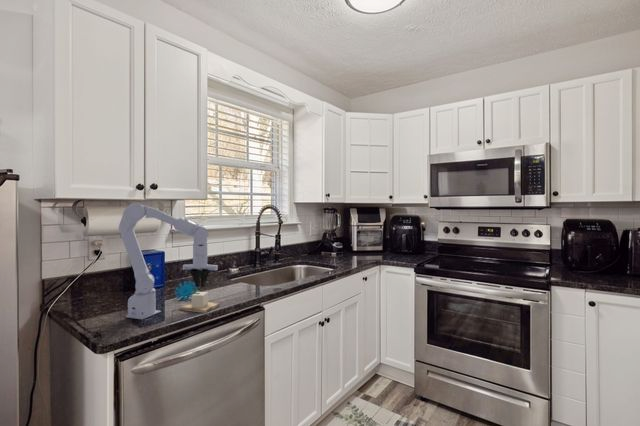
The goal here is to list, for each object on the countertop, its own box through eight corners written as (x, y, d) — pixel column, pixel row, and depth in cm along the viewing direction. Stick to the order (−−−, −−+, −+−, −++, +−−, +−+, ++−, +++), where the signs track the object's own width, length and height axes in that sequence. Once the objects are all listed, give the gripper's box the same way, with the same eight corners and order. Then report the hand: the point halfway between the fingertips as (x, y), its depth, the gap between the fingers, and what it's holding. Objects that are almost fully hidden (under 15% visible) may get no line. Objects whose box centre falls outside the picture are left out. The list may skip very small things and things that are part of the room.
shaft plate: (204, 312, 132) (204, 304, 132) (180, 309, 136) (180, 301, 135) (219, 305, 141) (219, 297, 141) (196, 303, 145) (196, 295, 145)
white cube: (208, 303, 141) (208, 291, 140) (203, 307, 136) (203, 295, 135) (197, 303, 141) (197, 291, 141) (191, 307, 136) (191, 294, 136)
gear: (170, 296, 149) (180, 278, 156) (174, 303, 153) (184, 284, 160) (192, 301, 148) (202, 282, 154) (196, 307, 152) (205, 288, 159)
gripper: (178, 255, 135) (178, 288, 135) (212, 256, 133) (212, 289, 134) (187, 253, 142) (187, 284, 142) (219, 254, 140) (219, 285, 141)
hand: (200, 286), depth 138 cm, fingers closed
